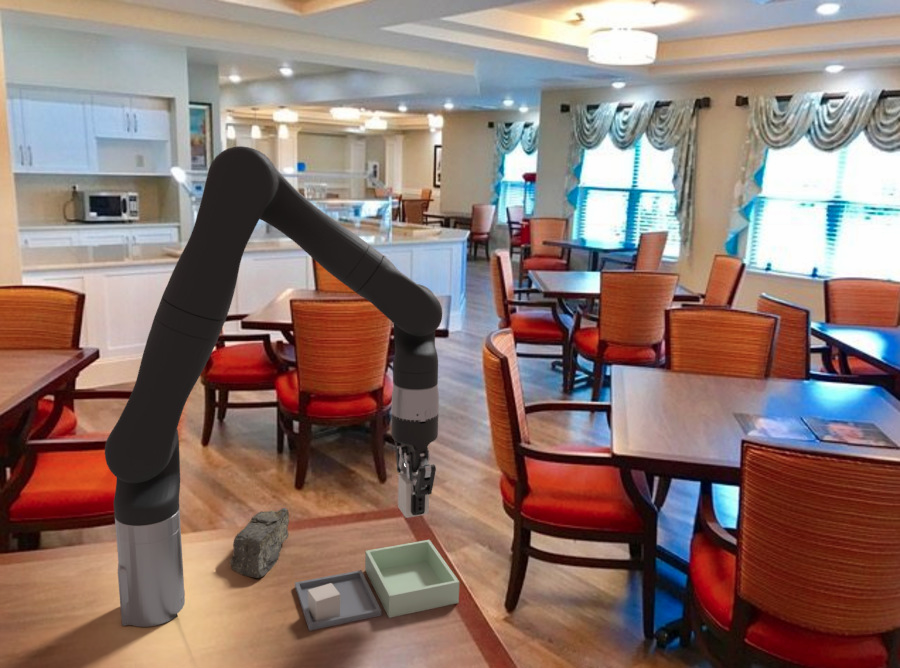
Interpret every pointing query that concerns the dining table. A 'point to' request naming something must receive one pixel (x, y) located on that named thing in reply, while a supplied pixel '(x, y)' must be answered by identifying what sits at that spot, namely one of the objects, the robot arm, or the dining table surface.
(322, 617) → the smooth off-white cube
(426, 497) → the off-white rectangular block
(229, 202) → the robot arm
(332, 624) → the slate tray
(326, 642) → the dining table surface
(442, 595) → the green bin
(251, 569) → the rock
